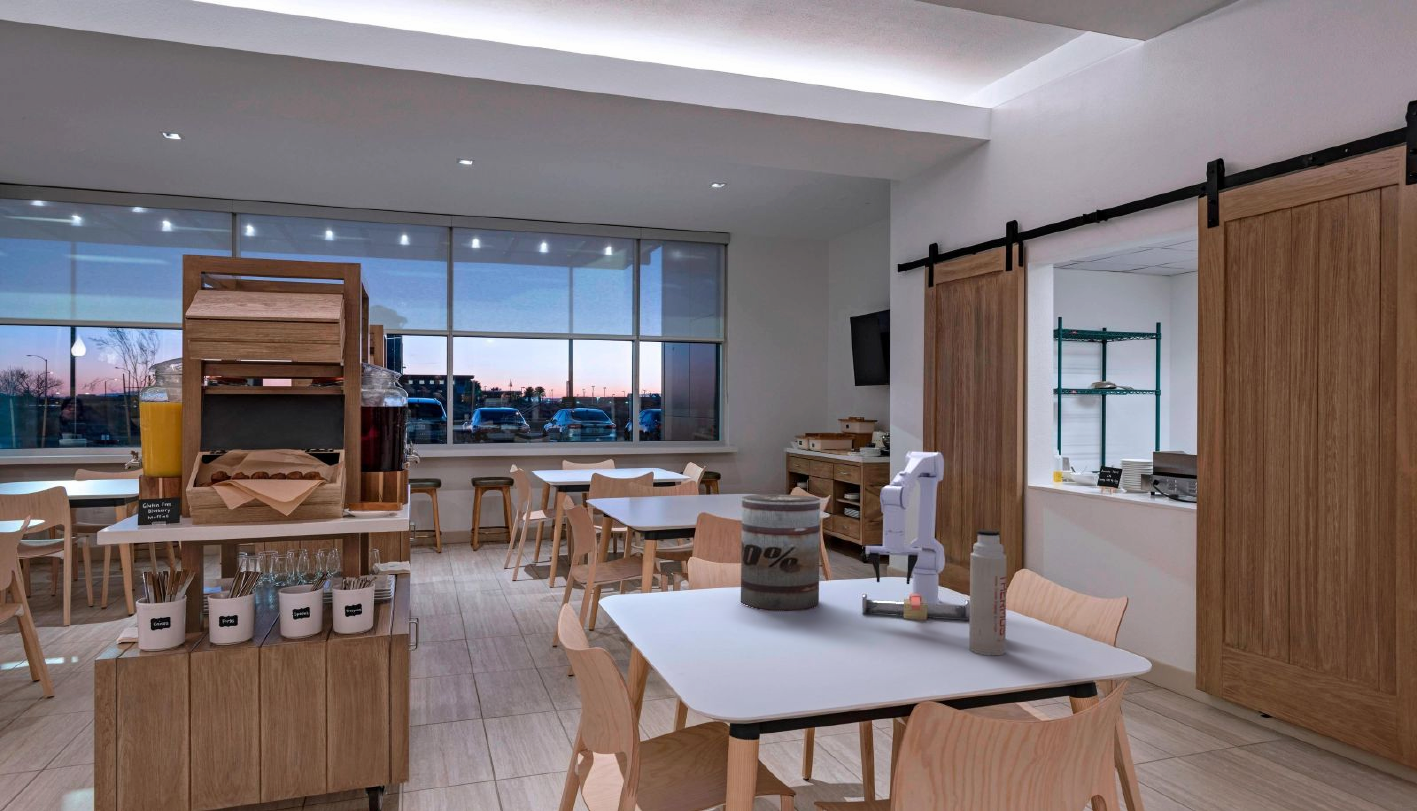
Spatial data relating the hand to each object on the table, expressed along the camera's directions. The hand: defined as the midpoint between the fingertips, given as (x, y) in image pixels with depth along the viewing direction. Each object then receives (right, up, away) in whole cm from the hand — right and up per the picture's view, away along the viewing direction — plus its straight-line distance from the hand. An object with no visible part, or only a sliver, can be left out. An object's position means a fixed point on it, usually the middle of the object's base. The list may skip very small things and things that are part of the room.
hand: (893, 582), depth 227 cm
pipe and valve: (+7, -10, +5) cm, 14 cm away
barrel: (-28, -10, +21) cm, 37 cm away
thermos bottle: (+16, -10, -27) cm, 33 cm away
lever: (+6, -6, 0) cm, 8 cm away
